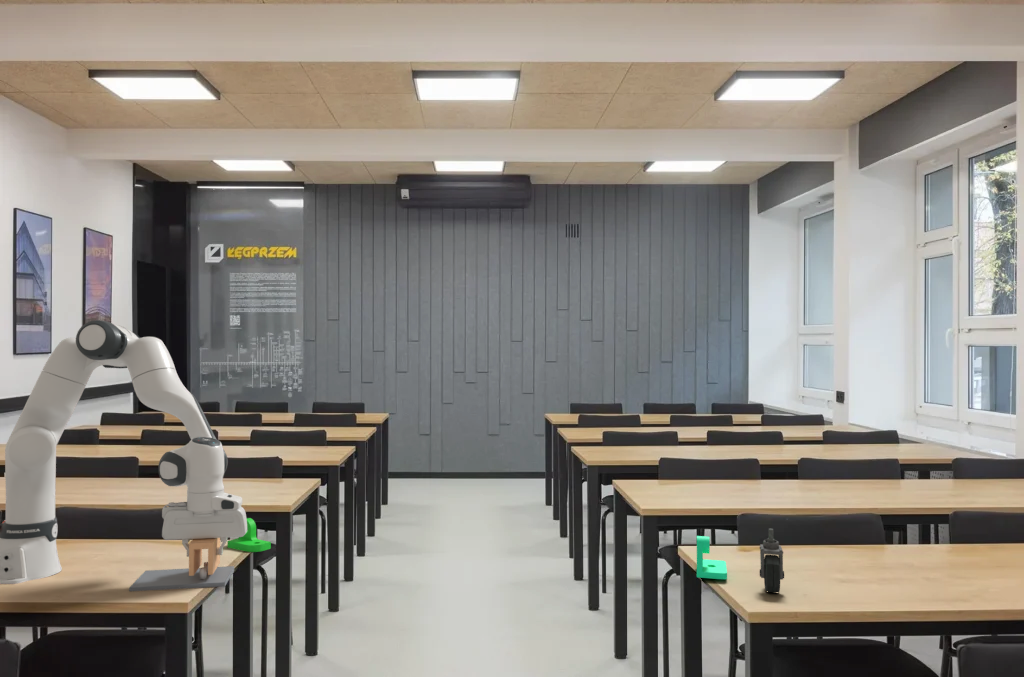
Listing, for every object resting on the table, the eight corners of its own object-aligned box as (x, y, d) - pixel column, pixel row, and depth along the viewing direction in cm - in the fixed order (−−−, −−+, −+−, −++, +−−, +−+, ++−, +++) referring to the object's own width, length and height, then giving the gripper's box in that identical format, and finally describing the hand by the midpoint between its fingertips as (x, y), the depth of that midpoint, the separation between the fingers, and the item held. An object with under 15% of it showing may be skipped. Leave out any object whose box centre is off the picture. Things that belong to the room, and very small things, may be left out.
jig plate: (129, 593, 182) (129, 577, 182) (145, 576, 196) (145, 561, 196) (224, 588, 186) (225, 572, 186) (234, 571, 200) (234, 556, 200)
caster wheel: (782, 587, 189) (782, 527, 189) (785, 599, 180) (785, 536, 180) (758, 585, 191) (758, 526, 191) (760, 597, 181) (761, 535, 182)
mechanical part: (227, 547, 225) (227, 520, 225) (243, 543, 230) (244, 517, 230) (254, 553, 219) (254, 525, 219) (270, 548, 224) (270, 521, 224)
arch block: (188, 575, 187) (189, 543, 187) (197, 564, 196) (197, 533, 196) (212, 574, 188) (212, 542, 188) (219, 563, 198) (220, 532, 198)
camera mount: (727, 583, 192) (727, 543, 192) (696, 581, 194) (696, 541, 194) (725, 570, 204) (725, 532, 204) (696, 568, 206) (696, 530, 206)
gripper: (159, 505, 187) (158, 560, 187) (244, 502, 191) (244, 556, 191) (165, 500, 193) (164, 553, 193) (248, 497, 197) (247, 550, 197)
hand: (205, 555), depth 192 cm, fingers closed on arch block, 5 cm apart
